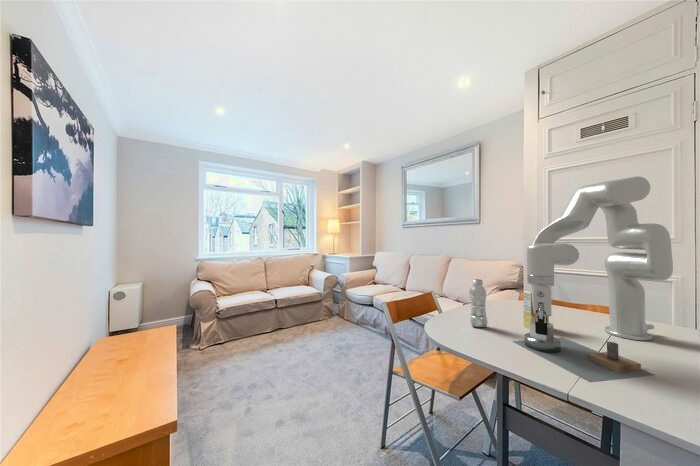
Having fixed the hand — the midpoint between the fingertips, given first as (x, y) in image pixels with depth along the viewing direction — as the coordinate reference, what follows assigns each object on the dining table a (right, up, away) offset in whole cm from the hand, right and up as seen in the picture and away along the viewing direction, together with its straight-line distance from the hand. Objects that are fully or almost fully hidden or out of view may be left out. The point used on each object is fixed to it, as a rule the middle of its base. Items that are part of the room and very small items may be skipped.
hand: (541, 329), depth 90 cm
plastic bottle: (-11, -7, +22) cm, 25 cm away
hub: (0, -6, 0) cm, 6 cm away
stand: (+12, -5, -13) cm, 18 cm away
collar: (0, -3, 0) cm, 3 cm away
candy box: (+12, -7, +19) cm, 23 cm away
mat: (+5, -6, -7) cm, 11 cm away
